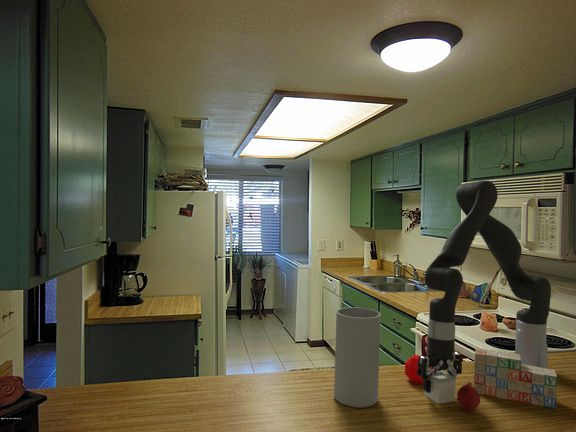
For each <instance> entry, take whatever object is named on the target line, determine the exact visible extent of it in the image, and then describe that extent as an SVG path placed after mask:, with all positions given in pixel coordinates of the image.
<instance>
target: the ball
mask: <svg viewBox="0 0 576 432" xmlns="http://www.w3.org/2000/svg"><path fill="white" fill-rule="evenodd" d="M419 356H420V355H419V354H414V355H413V356H411V357H409V359H407V360H406V361H405V363H404V374H405V376H406V377H407V378H408V379H409V381H410V383H415V382H416V384H419V383H420V385H423V379H422V378H421V377H419V376H418V375H417V369H418V358H419ZM422 356H423V357H426V356H424V355H422ZM430 369H433V368H432V367H430Z"/></svg>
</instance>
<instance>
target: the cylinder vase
mask: <svg viewBox="0 0 576 432" xmlns="http://www.w3.org/2000/svg"><path fill="white" fill-rule="evenodd" d="M335 312H336V318H335V319H336V320H335V348H334V349H335V352H334V380H333V383H334V385H333V387H334V388H333V389H334V391H333V396H334V398H335V400H336V401H338V402H339V403H340V404H341V405H344V406H347V407H349V408H351V407H352V408H358V409H359V408H369V407H372V406H374V405H375V404H376V403H377V402H378V400H379V378H380V377H379V374H380V369H379V368H380V347H381V346H380V343H381V342H380V341H381V338H380V337H381V312H380V311H377V310H375V309H372V308H367V307H366V308H365V307H354V306H353V307H351V306H350V307H340V308H338V309H337V310H336V311H335Z"/></svg>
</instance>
